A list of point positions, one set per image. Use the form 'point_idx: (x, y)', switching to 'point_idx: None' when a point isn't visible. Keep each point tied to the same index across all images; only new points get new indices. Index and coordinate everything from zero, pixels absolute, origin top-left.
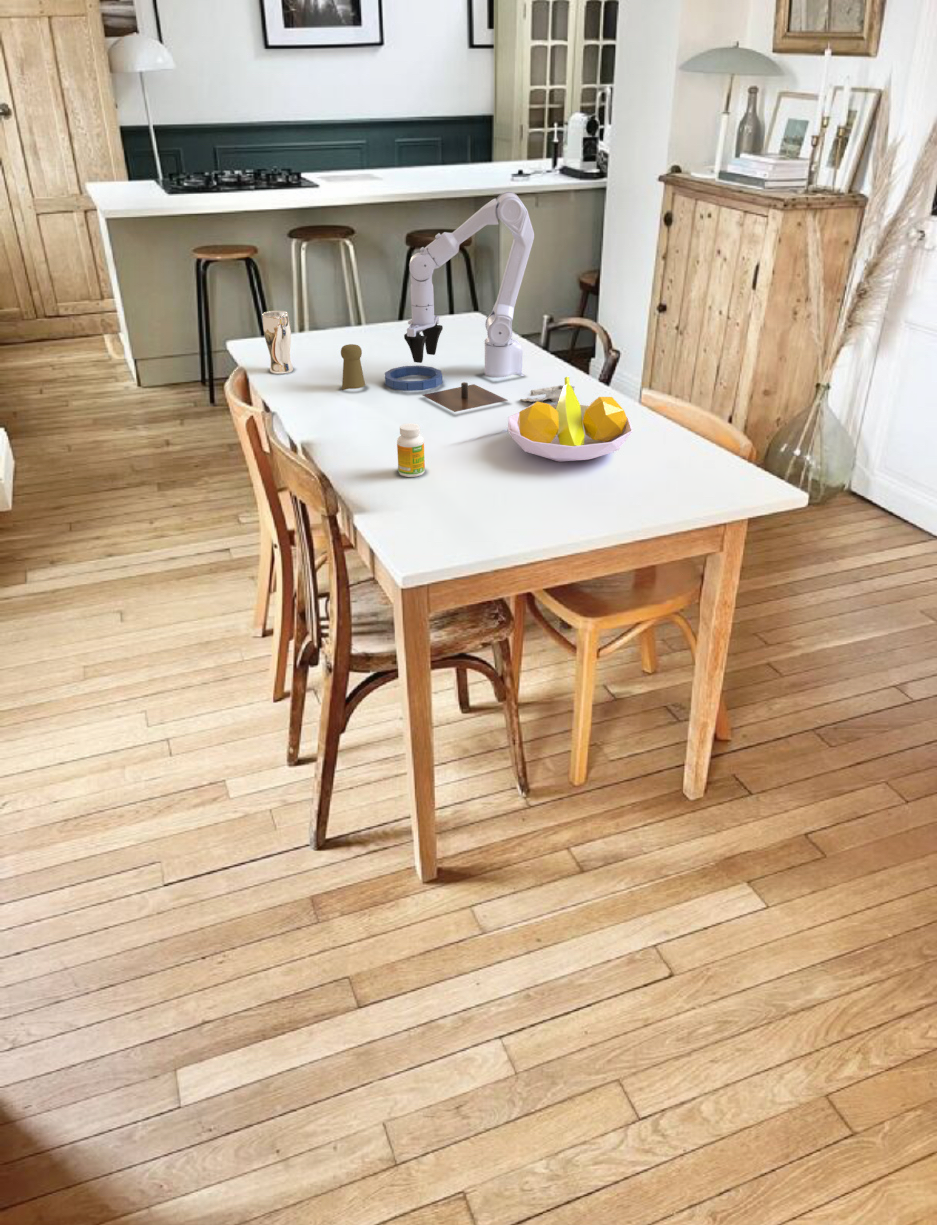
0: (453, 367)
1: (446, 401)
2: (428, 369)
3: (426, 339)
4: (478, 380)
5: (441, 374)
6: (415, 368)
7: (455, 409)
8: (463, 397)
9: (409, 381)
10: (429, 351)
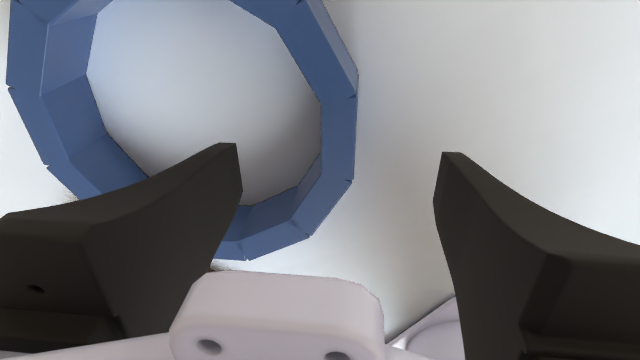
0: (581, 174)
1: None
2: (321, 167)
3: (475, 220)
4: (392, 306)
5: (252, 257)
6: (312, 86)
7: None
8: None
9: (66, 169)
10: (441, 182)
